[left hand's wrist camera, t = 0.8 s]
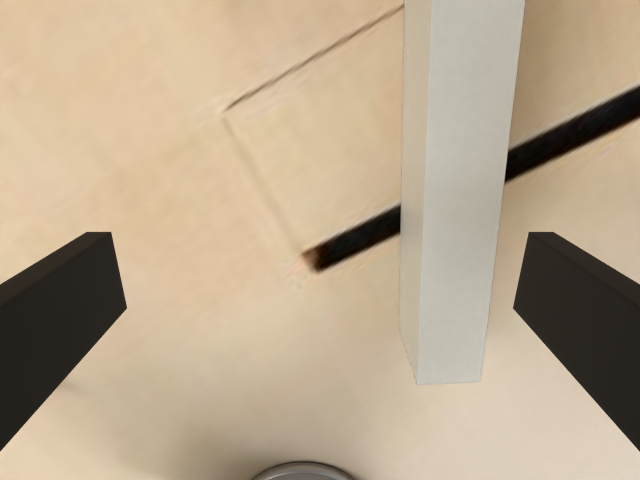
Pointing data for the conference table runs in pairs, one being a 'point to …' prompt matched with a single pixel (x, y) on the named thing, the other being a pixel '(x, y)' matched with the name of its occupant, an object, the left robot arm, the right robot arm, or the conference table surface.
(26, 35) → the conference table surface
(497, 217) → the beam
